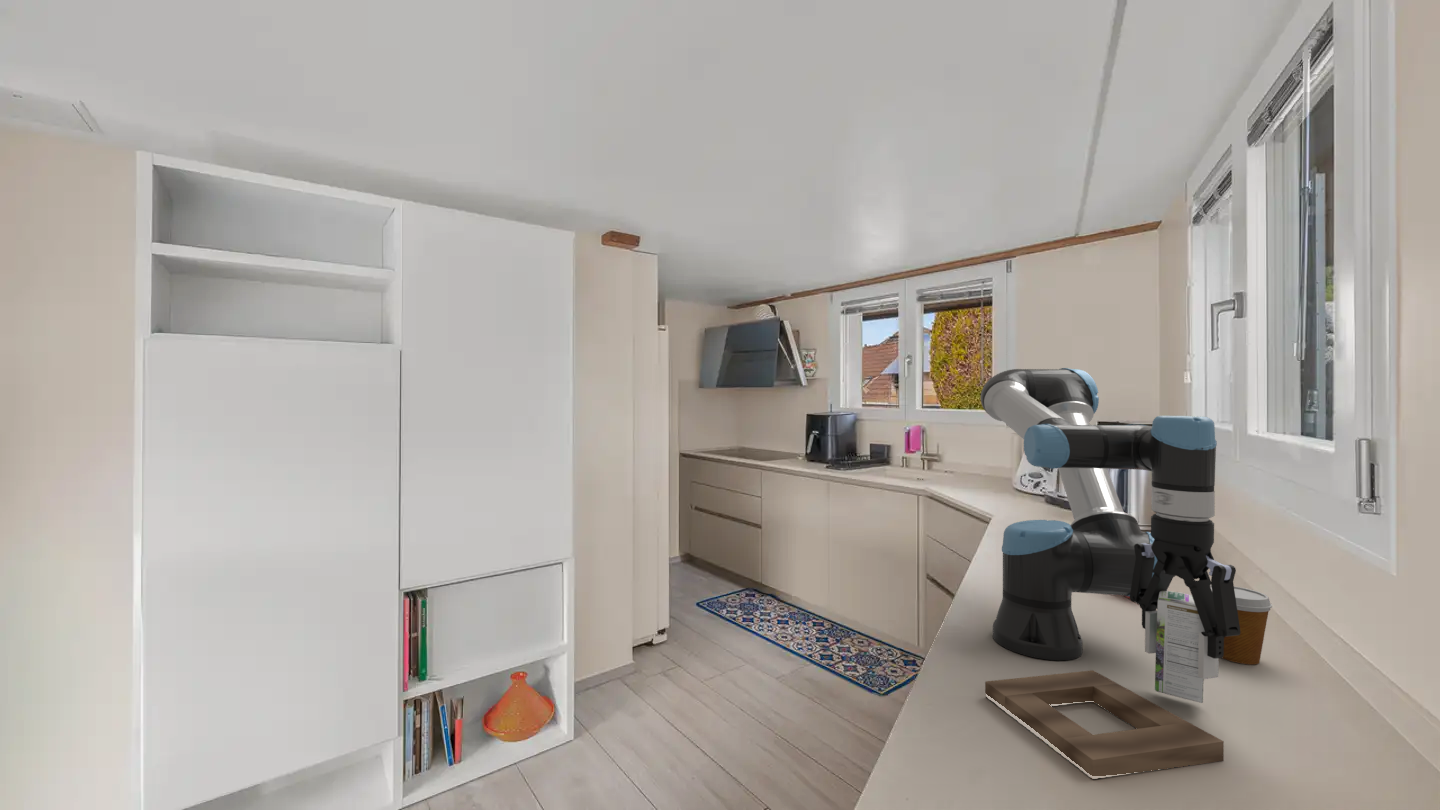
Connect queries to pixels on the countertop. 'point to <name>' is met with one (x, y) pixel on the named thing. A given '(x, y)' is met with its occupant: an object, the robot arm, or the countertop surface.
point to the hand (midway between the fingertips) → (1179, 663)
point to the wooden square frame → (1113, 753)
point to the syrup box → (1178, 646)
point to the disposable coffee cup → (1248, 627)
